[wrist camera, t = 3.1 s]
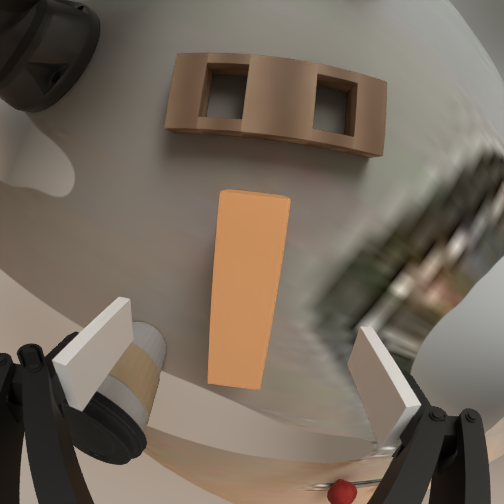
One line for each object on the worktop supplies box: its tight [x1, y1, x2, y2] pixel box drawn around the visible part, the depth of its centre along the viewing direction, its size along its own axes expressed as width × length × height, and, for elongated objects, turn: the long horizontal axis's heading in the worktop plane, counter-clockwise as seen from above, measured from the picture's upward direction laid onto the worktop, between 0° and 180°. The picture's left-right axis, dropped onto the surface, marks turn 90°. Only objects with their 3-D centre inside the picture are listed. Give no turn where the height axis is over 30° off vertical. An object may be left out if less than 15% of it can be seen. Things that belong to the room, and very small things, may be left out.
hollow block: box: [164, 53, 387, 158], centre depth 20 cm, size 18×7×3 cm, turn 83°
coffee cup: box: [62, 321, 167, 465], centre depth 22 cm, size 9×9×15 cm
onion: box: [327, 480, 357, 504], centre depth 34 cm, size 6×6×8 cm
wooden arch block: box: [208, 189, 291, 389], centre depth 21 cm, size 14×4×9 cm, turn 173°
